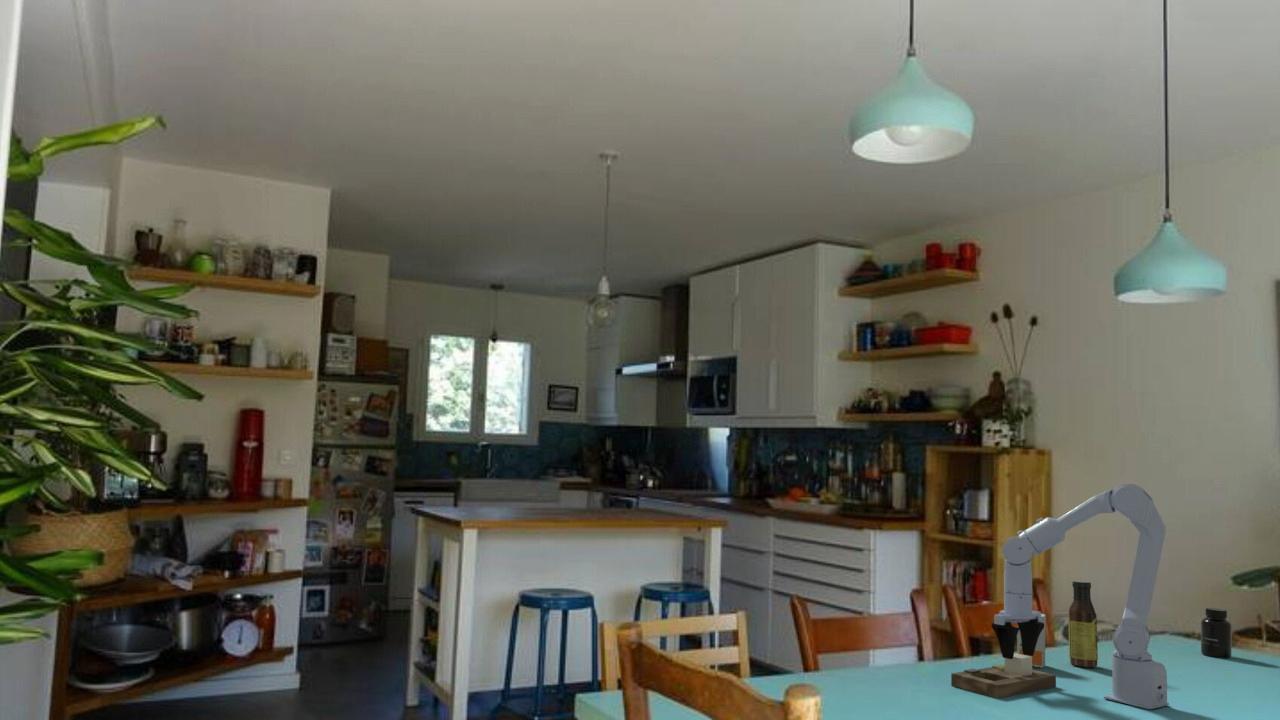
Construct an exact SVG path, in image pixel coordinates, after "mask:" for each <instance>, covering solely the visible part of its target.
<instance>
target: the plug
mask: <svg viewBox="0 0 1280 720" xmlns="http://www.w3.org/2000/svg"><path fill="white" fill-rule="evenodd" d="M1004 665H1005V672H1006V673H1010V674H1015V675H1019V676H1027V675H1032V670H1033V666H1032V657H1031V656H1026V655H1021V654H1017V652H1014V656H1013V659H1008V658H1004Z"/></svg>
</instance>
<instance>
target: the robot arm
mask: <svg viewBox="0 0 1280 720" xmlns="http://www.w3.org/2000/svg"><path fill="white" fill-rule="evenodd" d="M1116 511H1117V512H1118V513H1120V514H1121V515H1123V516H1124V517H1126V518H1127V519H1129V520H1130V522H1131V523H1132V525H1133V526H1134V528H1136V529H1137V530H1138V532H1139V536H1138V541H1137V546H1136V552H1135V556H1134V562H1133V566H1132V572H1131V576H1130V580H1129V586H1128V587H1129V588H1128V592H1127V596H1126V601H1125V602H1126V603H1125V606H1124V611H1123V614H1122V620H1121V622H1120V624H1118V626H1117V628H1116V630H1115V632H1114V634H1113V636H1112V643H1113V646H1114V648H1115V650H1113V651H1112V653H1111V656H1112V657H1111V660H1112V664H1111V668H1112V670H1111V671H1112V676H1111V677H1112V678H1111V679H1112V680H1111V681H1112V693H1110V694H1106V695H1103V699H1106V700H1110V701H1114V702H1117V703H1122V704H1127V705H1128V706H1129V705H1130V706H1134V707H1138V708H1143V709H1146V710H1153V709H1158V708H1162V707H1166V706H1169V705H1170V702H1168V676H1167V674H1168V673H1167V669H1166V666H1165V665H1164V664H1163V663H1162V662H1158V661H1155V660H1154V659H1153V656H1152V655H1151V654H1150V653H1149V651H1148V649H1149V644H1150V641H1151V636H1150V633H1149V629H1148V623H1149V618H1150V612H1151V607H1152V602H1153V597H1154V592H1155V587H1156V582H1157V577H1158V572H1159V568H1160V567H1159V566H1160V562H1161V557H1162V552H1163V547H1164V543H1165V536H1166V532H1167V526H1166V524H1165V522H1164V520H1163V518H1162V516H1161V514H1160V512H1159V510H1158V508H1157V506H1156V504H1155V502H1154V499H1153V497H1152V496H1150V494H1149V493H1148V492H1146V490H1145V489H1143V488H1142V487H1141V486H1139V485H1137V484H1135V483H1123V484H1119V485H1118V486H1116V487H1115V488H1114V489H1113V488H1111V489H1109V490H1105V491H1104V492H1102V493H1098V494H1095V495H1094V496H1092V497H1090V498H1089V499H1086V500H1085V501H1084V502H1083V503H1081V504H1079V505H1078V506H1076V507H1074V508H1072V509H1071V510H1070V511H1068V512H1067V513H1065V514H1063V515H1062V516H1060V517H1058V518H1054V517H1049V516H1048V517H1045V518H1044V519H1043V517H1040V518H1038V519H1036V521H1035V522H1036V523H1034V525H1033V524H1032V526H1030V527H1028V528H1027V529H1025V530H1022V529H1020V530H1018V531H1017V532H1016V533H1017V536H1011V537H1009V538H1008V539H1007V540H1006V541H1004V543H1003V544H1002V549H1001V551H1002V552H1001V553H1002V555H1003V558H1004V563H1003V565H1004V570H1003V609H1002V610H999V613H998V614H994V616H993V620H994V621H993V622H991V629H992V631H993V632H994V634H995V636H996V638H997V641H998V643H999V649H1000V652H1001V656H1002V658H1003V659H1005V658H1008V659H1013V656H1014V653H1015V647H1016V641H1017V633H1018V631H1019V630H1020V634H1021V641H1022V651H1023V654H1025V655H1029V656H1033V655H1034V651H1035V647H1036V644H1037V640H1038V638H1039V635H1040V633H1041V631H1042V630H1043V628H1044V623H1042V622H1038V621H1041V614H1042V611H1037V610H1033V572H1032V559H1033V558H1034V556H1035V555H1041V554H1042V553H1044V552H1046V551H1048V550H1049V549H1051V548H1053V547H1054V546H1056V545H1058V544H1060V543H1061V542H1064V541H1065V537H1066V532H1067V531H1069V530H1071V529H1073V528H1075V527H1077V526H1079V525H1081V524H1083V523H1084V522H1086V521H1088V520H1090V519H1092V518H1093V517H1095V516H1097V515H1099V514H1114V513H1116ZM1013 624H1017V627H1016V626H1013ZM1018 627H1019V628H1018Z"/></svg>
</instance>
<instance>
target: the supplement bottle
mask: <svg viewBox="0 0 1280 720" xmlns="http://www.w3.org/2000/svg"><path fill="white" fill-rule="evenodd" d="M1204 615H1205V616H1206V617H1203V618H1202V619H1201V621H1200V652H1201V654H1202V655H1204V656H1207V657H1211V658H1216V659H1230V658H1231V657H1232V651H1233V650H1232V648H1233V647H1232V642H1233V641H1232V629H1233V628H1232V624H1231V622H1230V621H1228V620H1227V619H1228V611H1227V610H1226V609H1223V608H1217V607H1206V608H1205V613H1204Z"/></svg>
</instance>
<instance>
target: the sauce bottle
mask: <svg viewBox="0 0 1280 720" xmlns="http://www.w3.org/2000/svg"><path fill="white" fill-rule="evenodd" d="M1091 588H1092V584H1091V582H1090V581H1085V580H1072V589H1073V597H1072V598H1073V601H1072V603H1071V604H1070V605H1069V608H1068V652H1069V654H1068V655H1069V663H1070V664H1071V665H1072V666H1075V667H1078V668H1088V669H1089V668H1090V669H1091V668H1092V669H1093V668H1096V667H1098V660H1099V654H1098V653H1099V651H1098V648H1099V647H1098V645H1099V644H1098V641H1099V640H1098V616H1097V613H1096V610H1095V608H1094V605H1093V601H1092V598H1091Z"/></svg>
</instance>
